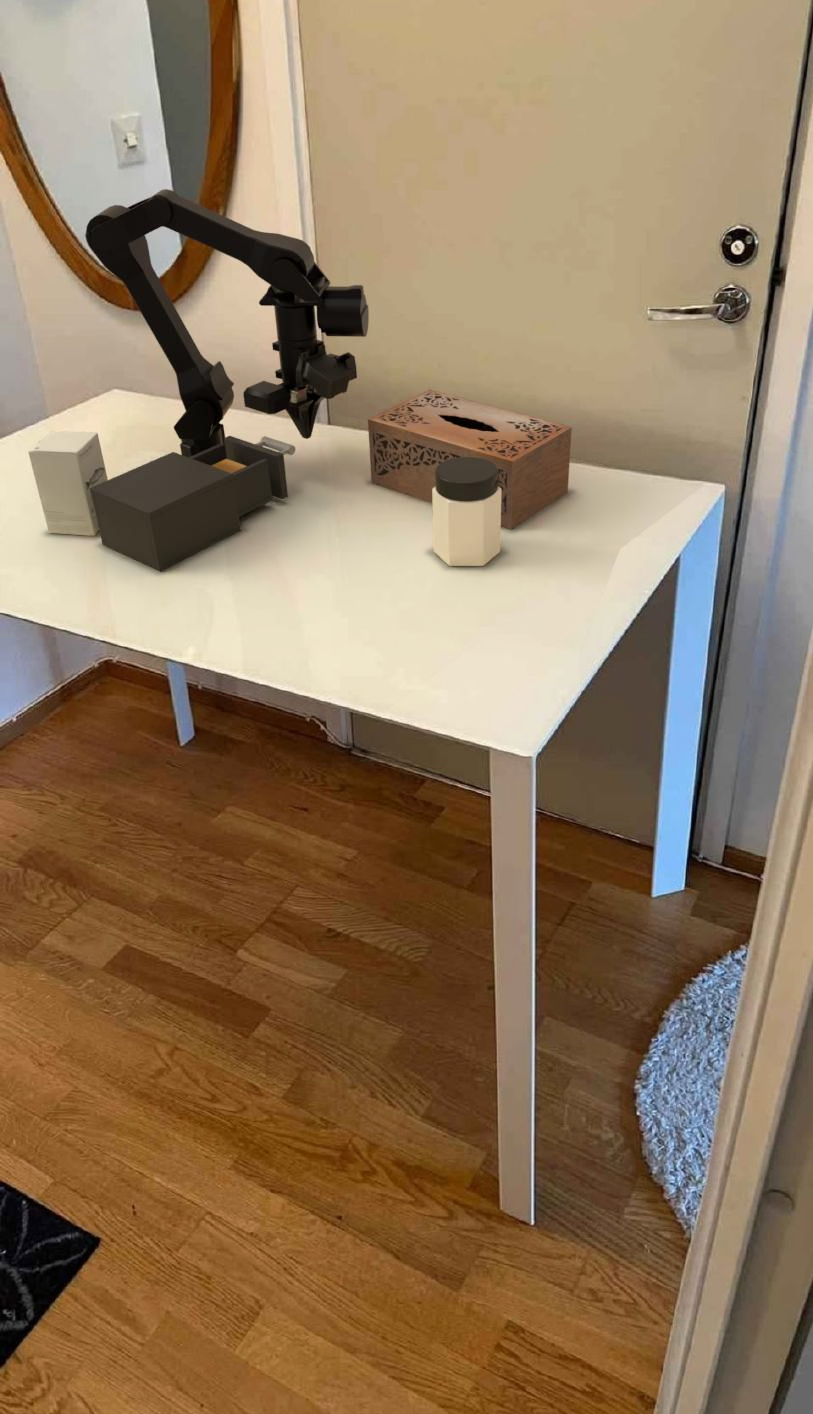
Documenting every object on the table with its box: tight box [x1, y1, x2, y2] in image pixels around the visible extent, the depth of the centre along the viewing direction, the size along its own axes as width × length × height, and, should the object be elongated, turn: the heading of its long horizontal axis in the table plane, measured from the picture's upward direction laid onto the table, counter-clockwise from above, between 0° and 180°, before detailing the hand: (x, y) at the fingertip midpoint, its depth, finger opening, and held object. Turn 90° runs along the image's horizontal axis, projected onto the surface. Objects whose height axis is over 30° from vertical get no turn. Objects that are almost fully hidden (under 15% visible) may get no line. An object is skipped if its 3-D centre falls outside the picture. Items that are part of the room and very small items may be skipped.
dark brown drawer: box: [189, 435, 296, 518], centre depth 155 cm, size 18×11×7 cm, turn 140°
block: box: [212, 459, 247, 473], centre depth 154 cm, size 4×4×4 cm
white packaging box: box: [27, 430, 109, 537], centre depth 151 cm, size 7×7×13 cm
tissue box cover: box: [367, 389, 573, 530], centre depth 157 cm, size 26×14×10 cm, turn 50°
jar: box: [431, 457, 502, 567], centre depth 140 cm, size 9×8×12 cm
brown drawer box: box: [90, 451, 242, 572], centre depth 148 cm, size 15×13×9 cm
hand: (306, 437), depth 164 cm, fingers closed
